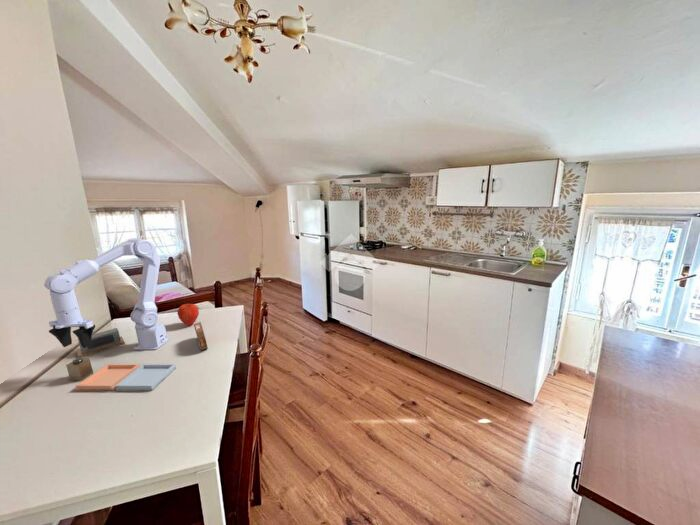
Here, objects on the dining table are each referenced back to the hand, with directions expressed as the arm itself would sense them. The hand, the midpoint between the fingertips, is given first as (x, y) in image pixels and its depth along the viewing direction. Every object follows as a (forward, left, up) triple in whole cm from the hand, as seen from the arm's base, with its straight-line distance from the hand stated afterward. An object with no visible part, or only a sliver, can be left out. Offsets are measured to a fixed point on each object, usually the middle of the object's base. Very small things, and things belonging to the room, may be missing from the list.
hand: (77, 346), depth 94 cm
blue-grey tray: (-26, +4, -10) cm, 28 cm away
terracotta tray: (-13, +4, -10) cm, 17 cm away
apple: (-16, -36, -10) cm, 41 cm away
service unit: (+9, -16, -10) cm, 21 cm away
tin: (-32, -18, -10) cm, 38 cm away
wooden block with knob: (-2, +3, -10) cm, 11 cm away
